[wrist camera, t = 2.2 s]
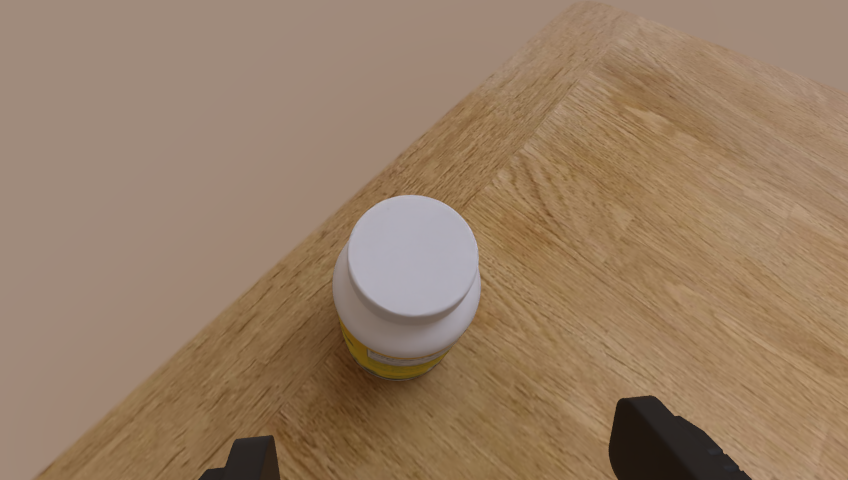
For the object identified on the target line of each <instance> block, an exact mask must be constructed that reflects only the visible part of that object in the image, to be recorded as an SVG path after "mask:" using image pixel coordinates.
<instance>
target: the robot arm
mask: <svg viewBox="0 0 848 480" xmlns="http://www.w3.org/2000/svg"><path fill="white" fill-rule="evenodd" d="M609 459H610V463H611V466H612V469H613V471H614V473H615V475H616V477H617V478H618V480H752V479H751V478H750V477H749V476H748V475H747V474H746V473H745V472H744V471H740V469H739V466H738V465H737V464H736V463H735V462H734V461H733V460H732V459H731V458H730V457H729V456H728V455H727V454H724V453H723V450H722V449H721V448H720V447H719V446H718V445H717V444H716V443H715V442H714V441H713V440H712V439H711V438H710V437H709V436H708V435H707V434H706V433H705V432H704V431H703V430H701V429H700V428H698V427H696V426H695V425H693V424H692V423H690V422H689V421H687V420H685V419H684V418H682V417H681V416H674V415H673V414H672V413H671V412H670V411H669V410H668V409H667V408H666V407H665V406H664V404H663V403H662V402H661V401H660V400H659V399H657V398H656V397H654V396H651V395H649V396H640V397H631V398H622V399H620V400H619V401H618V403H617V406H616V411H615V416H614V421H613V427H612V432H611V437H610V443H609ZM198 480H280V474H279V467H278V460H277V454H276V447H275V441H274V437H273V436H272V435H269V436H260V437H251V438H241V439H236V440H235V441H234V443H233V445H232V448H231V451H230V454H229V457H228V460H227V463H226V466H225V467H224V468H215V469H207V470H206V471H205V472H204V474H203V475H202V476H201V477H200V478H199V479H198Z"/></svg>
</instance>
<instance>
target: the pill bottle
mask: <svg viewBox="0 0 848 480" xmlns="http://www.w3.org/2000/svg"><path fill="white" fill-rule="evenodd" d="M478 259H479V256H478V248H477V243H476V240H475V237H474V235H473V233H472V230H471V229H470V227H469V226H468V224H467V223H466V222H465V220H464V219H463V218H462V217H461V216H460V215H459V214H458V213H457V212H456V211H455V210H454V209H452V208H451V207H449V206H448V205H446V204H444V203H442V202H440V201H438V200H435V199H432V198H429V197H425V196H417V195H403V196H397V197H392V198H389V199H387V200H384V201H382V202H380V203H378V204H376V205H375V206H373V207H372V208H370V209H369V210H368V211H367V212H366V213H365V214H364V215H363V216H362V217H361V218H360V219H359V220H358V222H357V223H356V225H355V226H354V228H353V230H352V233H351V235H350V238H349V240H348V242H347V243H346V245H345V246H344V247H343V249H342V251H341V253H340V255H339V257H338V259H337V262H336V265H335V268H334V273H333V283H332V287H333V299H334V303H335V307H336V311H337V314H338V317H339V321H340V325H341V328H342V332H343V336H344V339H345V342H346V345H347V347H348V349H349V351H350V353H351V355H352V356H353V358H354V359H355V360H356V362H357V363H358V364H359V365H360V366H361V367H362V368H363V369H365V370H366V371H367V372H369V373H371V374H373V375H375V376H377V377H380V378H383V379H387V380H393V381H403V380H410V379H413V378H416V377H419V376H421V375H423V374H425V373H427V372H428V371H430V370H431V369H432V368H434V367H435V366H436V365H437V364H438V363H439V362H440V361H441V360H442V359H443V357H444V356H445V355H446V354H447V353H448V352H449V350H450V349H451V348H452V347H453V345H454V344H455V343H456V342H457V341H458V339H459V338H460V337H461V336H462V334H463V333H464V332H465V331H466V329H467V328H468V326H469V325H470V323H471V321H472V319H473V317H474V315H475V313H476V310H477V307H478V304H479V299H480V292H481V281H480V274H479V269H478Z"/></svg>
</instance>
